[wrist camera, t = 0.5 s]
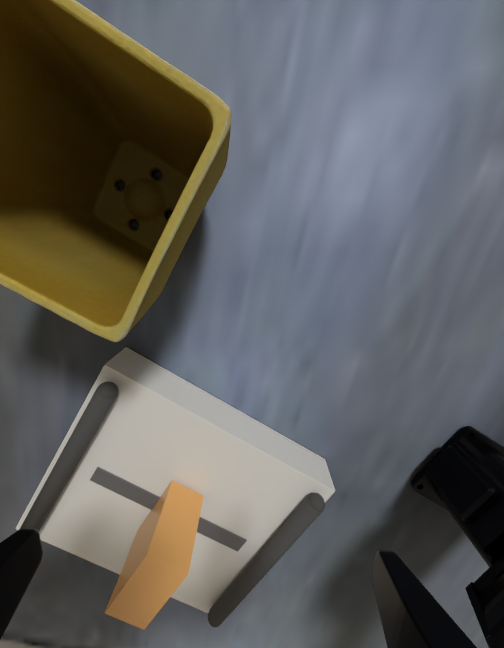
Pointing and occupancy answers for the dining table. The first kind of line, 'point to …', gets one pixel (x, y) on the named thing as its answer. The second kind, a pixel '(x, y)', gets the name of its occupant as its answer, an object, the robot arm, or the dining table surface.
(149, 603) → the handle
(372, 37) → the dining table surface
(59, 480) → the pair of mounting rails
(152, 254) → the flower pot
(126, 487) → the box
